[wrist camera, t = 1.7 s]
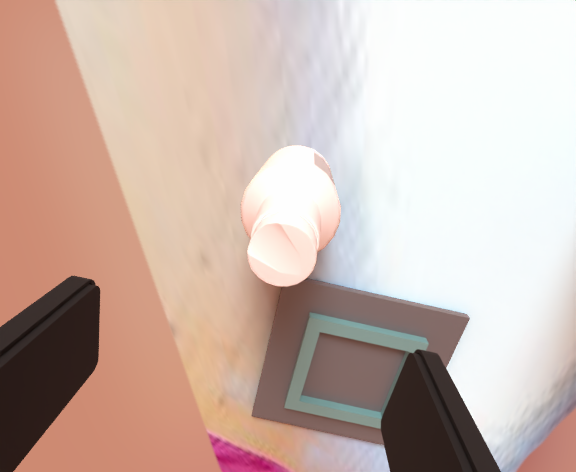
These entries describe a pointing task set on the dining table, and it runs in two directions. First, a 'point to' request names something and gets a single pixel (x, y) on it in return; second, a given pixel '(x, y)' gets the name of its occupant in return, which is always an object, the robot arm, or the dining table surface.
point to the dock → (345, 356)
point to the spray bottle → (289, 215)
